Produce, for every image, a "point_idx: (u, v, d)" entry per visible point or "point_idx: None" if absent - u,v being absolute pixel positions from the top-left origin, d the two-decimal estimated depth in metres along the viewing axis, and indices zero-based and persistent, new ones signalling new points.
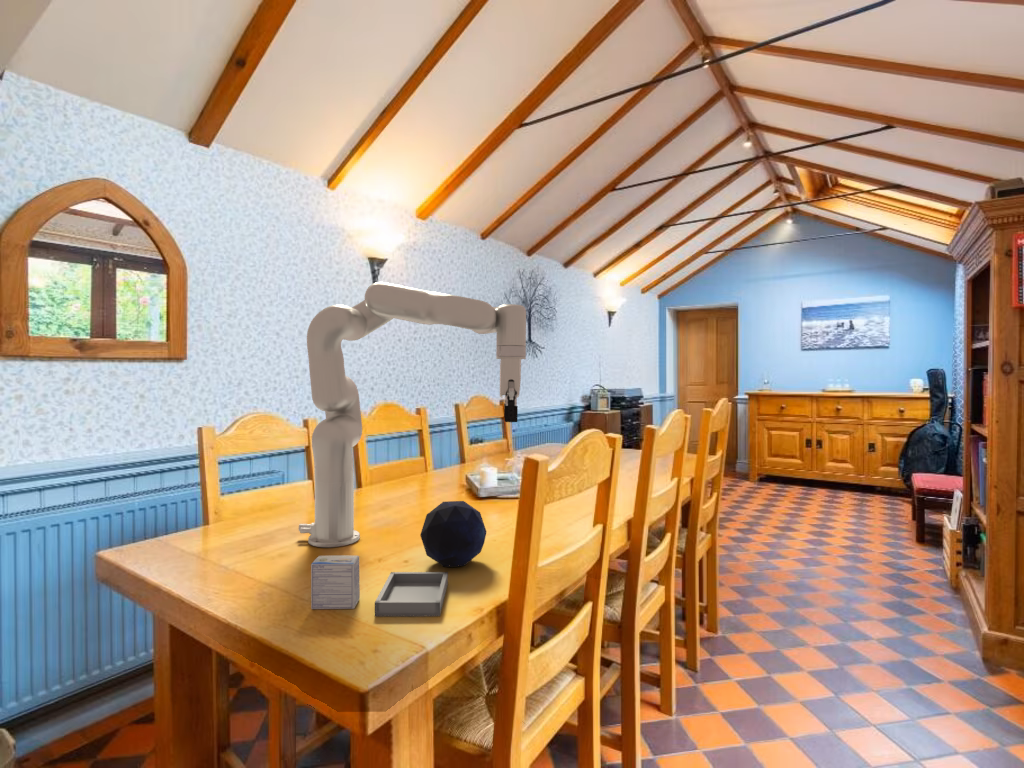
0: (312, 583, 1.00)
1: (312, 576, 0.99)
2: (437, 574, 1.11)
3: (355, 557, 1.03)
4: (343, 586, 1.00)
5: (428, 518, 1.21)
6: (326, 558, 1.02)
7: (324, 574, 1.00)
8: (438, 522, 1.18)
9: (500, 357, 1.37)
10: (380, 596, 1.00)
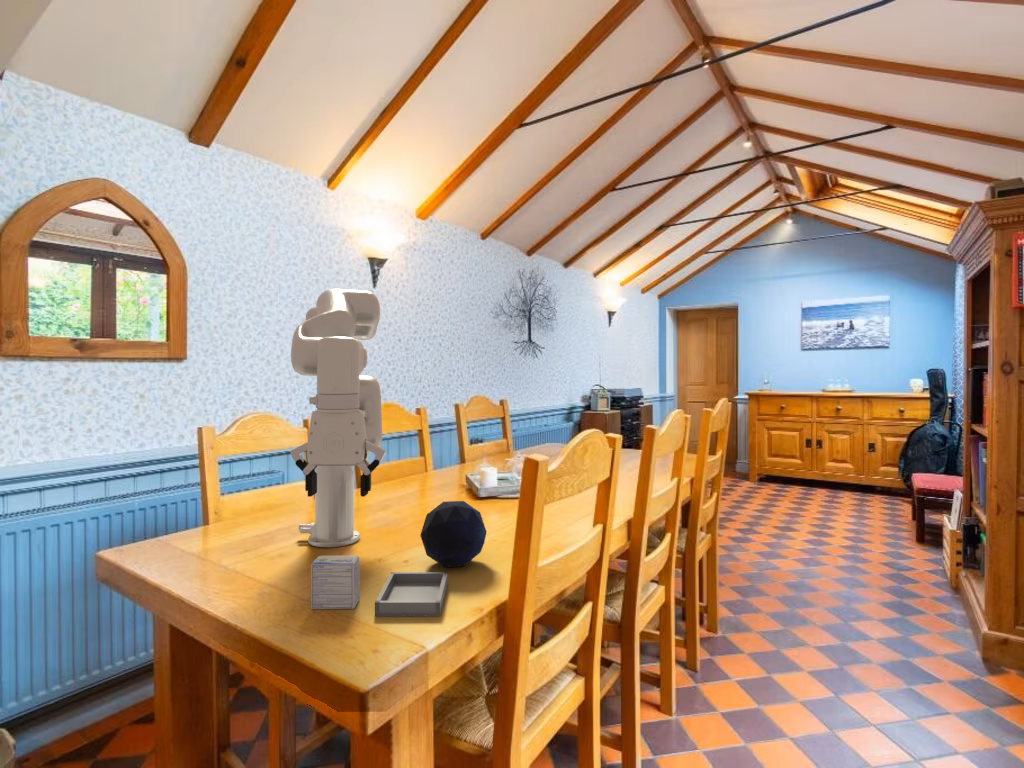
0: (312, 583, 1.00)
1: (312, 576, 0.99)
2: (437, 574, 1.11)
3: (355, 557, 1.03)
4: (343, 586, 1.00)
5: (428, 518, 1.21)
6: (326, 558, 1.02)
7: (324, 574, 1.00)
8: (438, 522, 1.18)
9: (348, 410, 0.99)
10: (380, 596, 1.00)
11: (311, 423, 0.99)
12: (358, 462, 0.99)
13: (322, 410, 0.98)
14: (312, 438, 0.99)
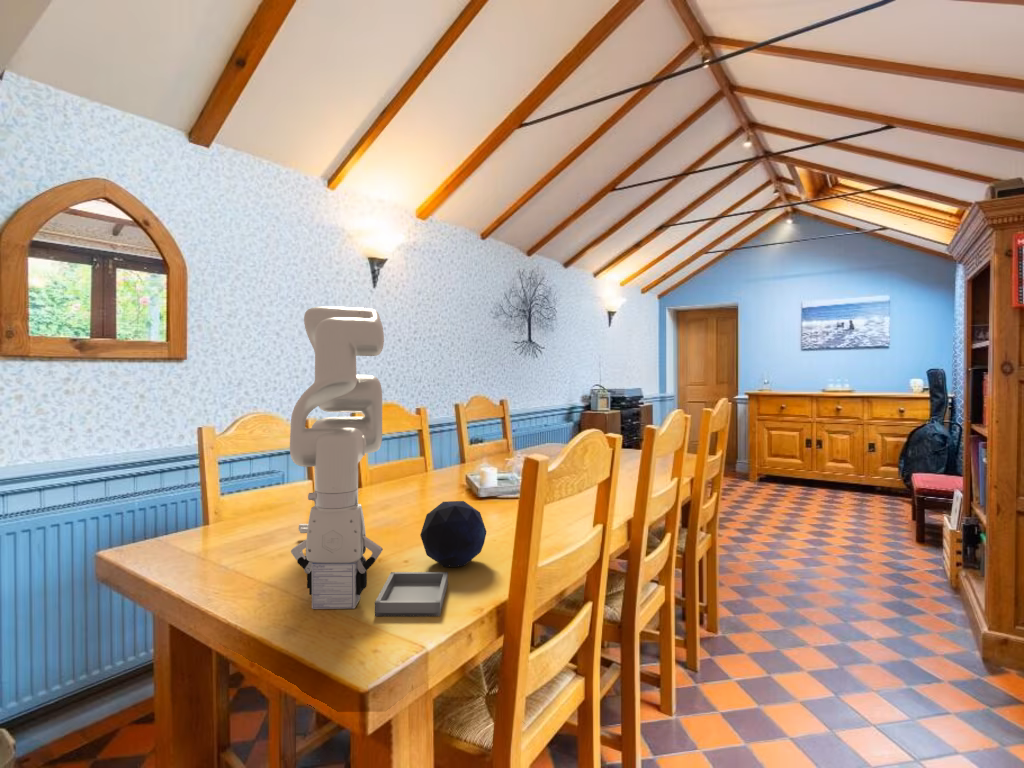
0: (313, 583, 1.00)
1: (313, 576, 0.99)
2: (437, 574, 1.11)
3: None
4: (344, 586, 1.00)
5: (428, 518, 1.21)
6: None
7: (325, 574, 1.00)
8: (438, 522, 1.18)
9: (346, 508, 0.99)
10: (380, 596, 1.00)
11: (310, 521, 0.99)
12: (356, 560, 1.00)
13: (321, 509, 0.99)
14: (311, 536, 0.99)
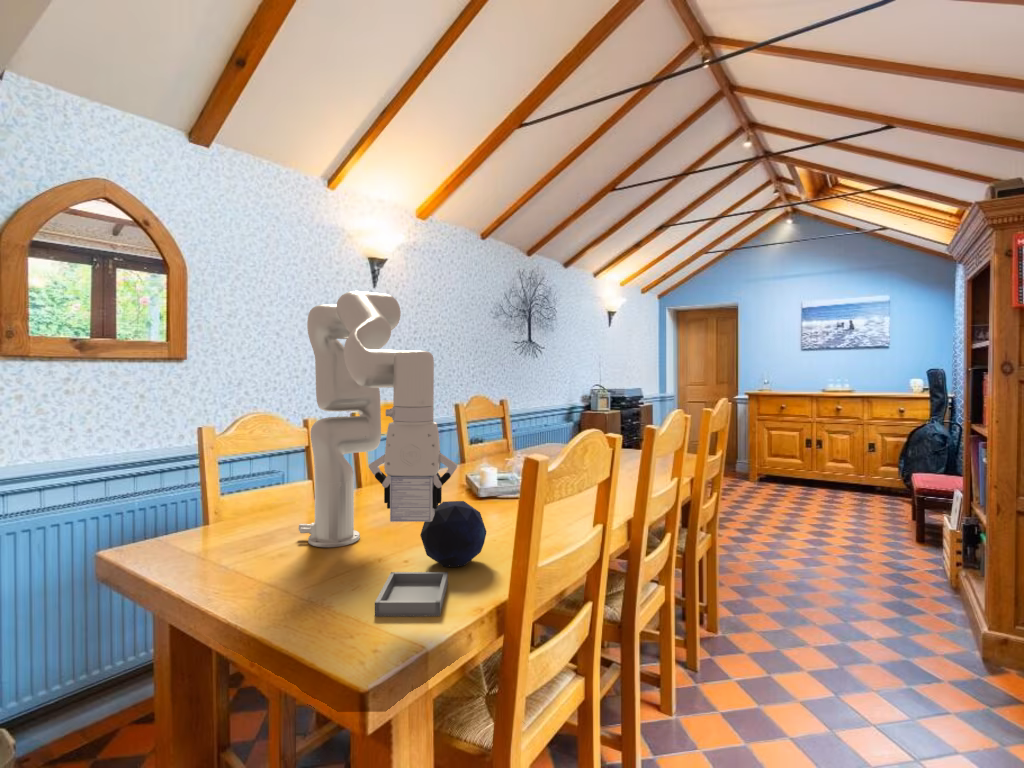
0: (391, 496, 1.02)
1: (391, 489, 1.01)
2: (437, 574, 1.11)
3: None
4: (422, 499, 1.02)
5: None
6: None
7: (403, 487, 1.01)
8: (438, 522, 1.18)
9: (424, 423, 1.01)
10: (380, 596, 1.00)
11: (388, 435, 1.01)
12: (434, 473, 1.02)
13: (400, 422, 1.01)
14: (389, 450, 1.01)
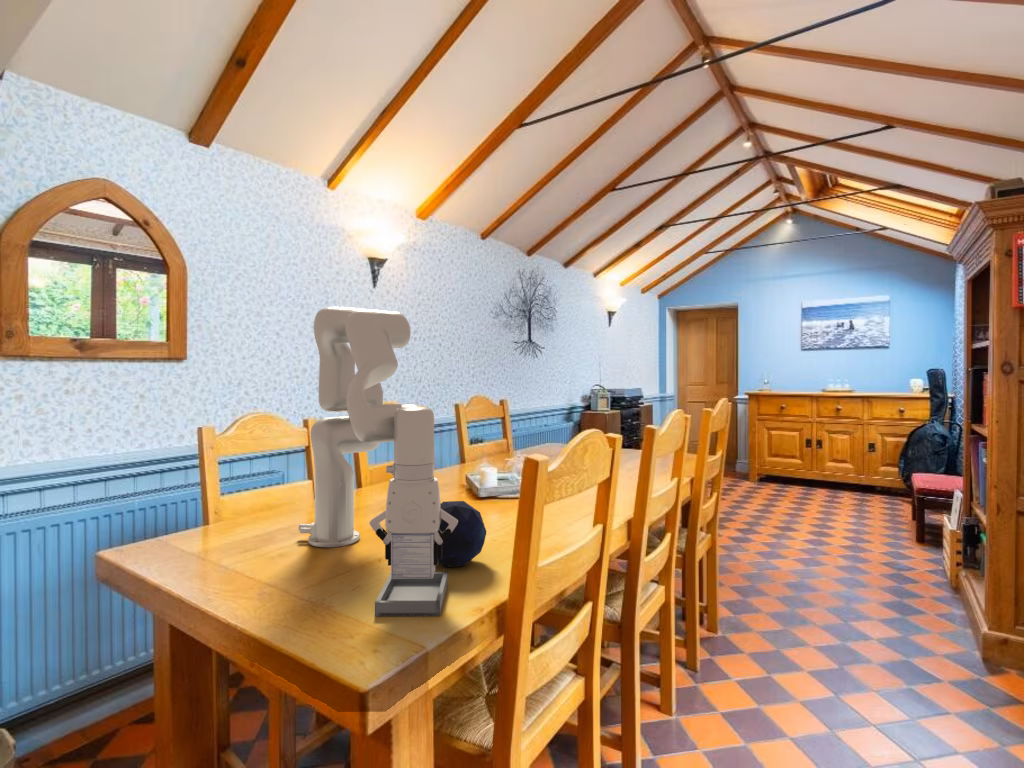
0: (392, 553, 1.02)
1: (392, 547, 1.02)
2: (437, 574, 1.11)
3: None
4: (423, 556, 1.02)
5: None
6: None
7: (404, 545, 1.02)
8: None
9: (425, 480, 1.01)
10: (380, 596, 1.00)
11: (389, 493, 1.02)
12: (435, 531, 1.02)
13: (400, 480, 1.01)
14: (390, 507, 1.01)
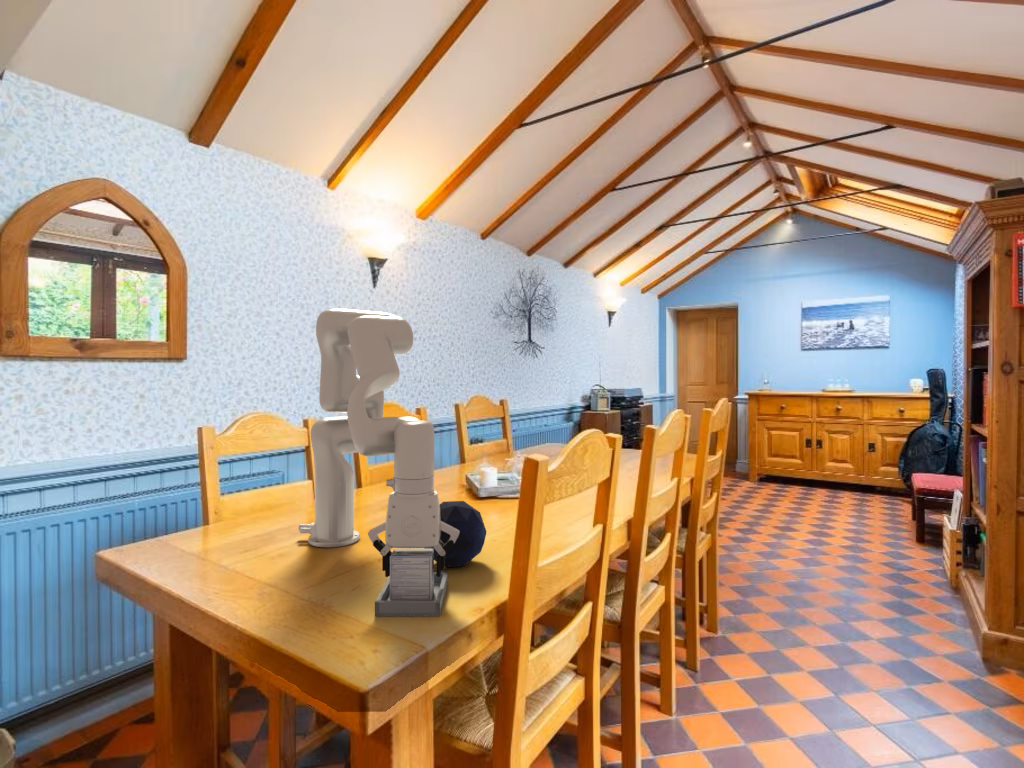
0: (391, 575, 1.02)
1: (391, 568, 1.02)
2: None
3: (430, 550, 1.05)
4: (421, 578, 1.02)
5: None
6: (403, 551, 1.04)
7: (403, 566, 1.02)
8: None
9: (425, 494, 1.01)
10: (380, 596, 1.00)
11: (389, 506, 1.02)
12: (435, 544, 1.02)
13: (400, 494, 1.01)
14: (390, 521, 1.02)
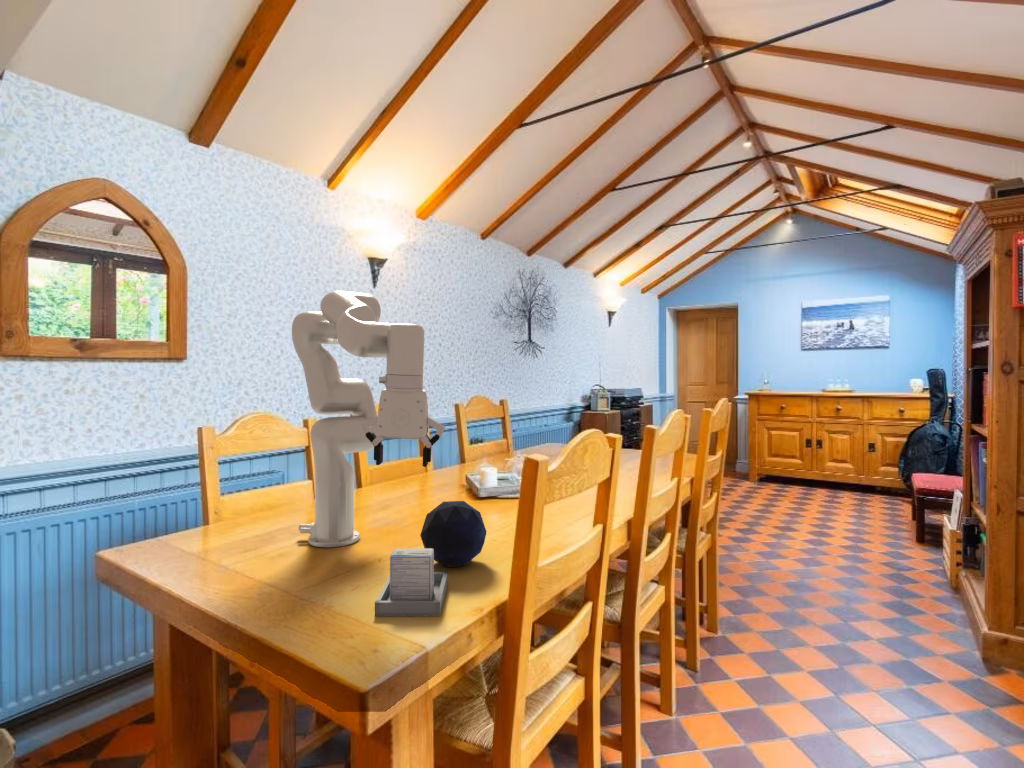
0: (391, 575, 1.02)
1: (391, 568, 1.02)
2: (437, 574, 1.11)
3: (430, 550, 1.05)
4: (421, 578, 1.02)
5: (428, 518, 1.21)
6: (403, 551, 1.04)
7: (403, 566, 1.02)
8: (438, 522, 1.18)
9: (414, 390, 1.11)
10: (380, 596, 1.00)
11: (381, 400, 1.11)
12: (422, 436, 1.12)
13: (391, 389, 1.10)
14: (382, 413, 1.11)
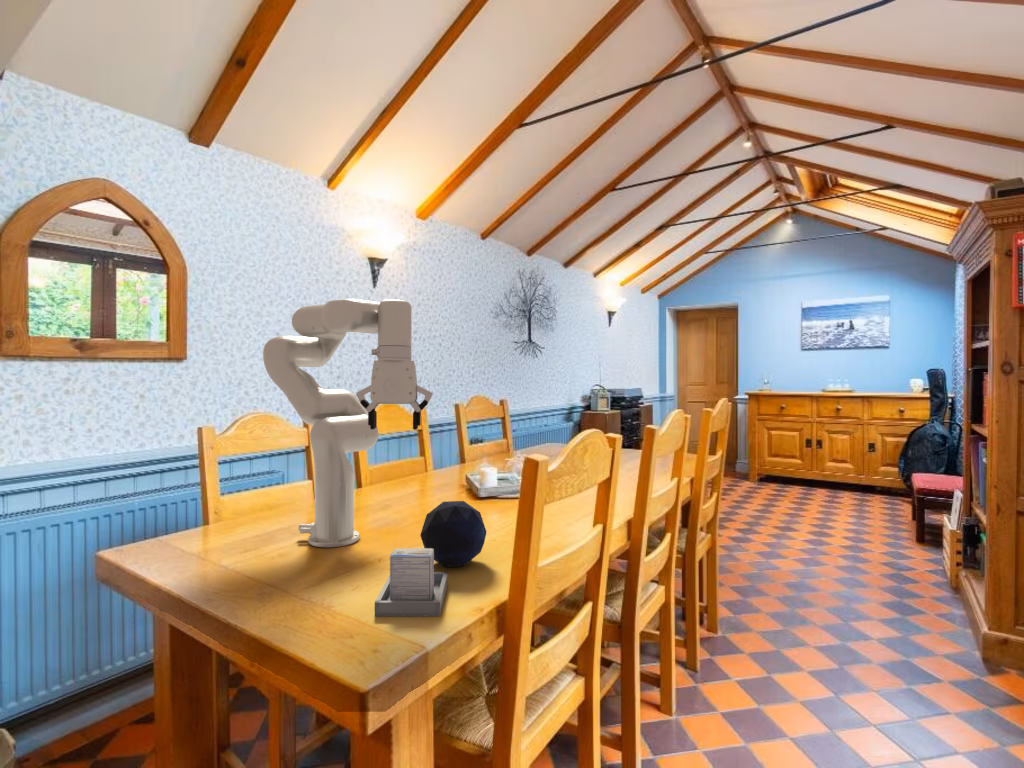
0: (391, 575, 1.02)
1: (391, 568, 1.02)
2: (437, 574, 1.11)
3: (430, 550, 1.05)
4: (421, 578, 1.02)
5: (428, 518, 1.21)
6: (403, 551, 1.04)
7: (403, 566, 1.02)
8: (438, 522, 1.18)
9: (403, 359, 1.23)
10: (380, 596, 1.00)
11: (374, 369, 1.23)
12: (411, 401, 1.23)
13: (383, 358, 1.22)
14: (374, 381, 1.23)
